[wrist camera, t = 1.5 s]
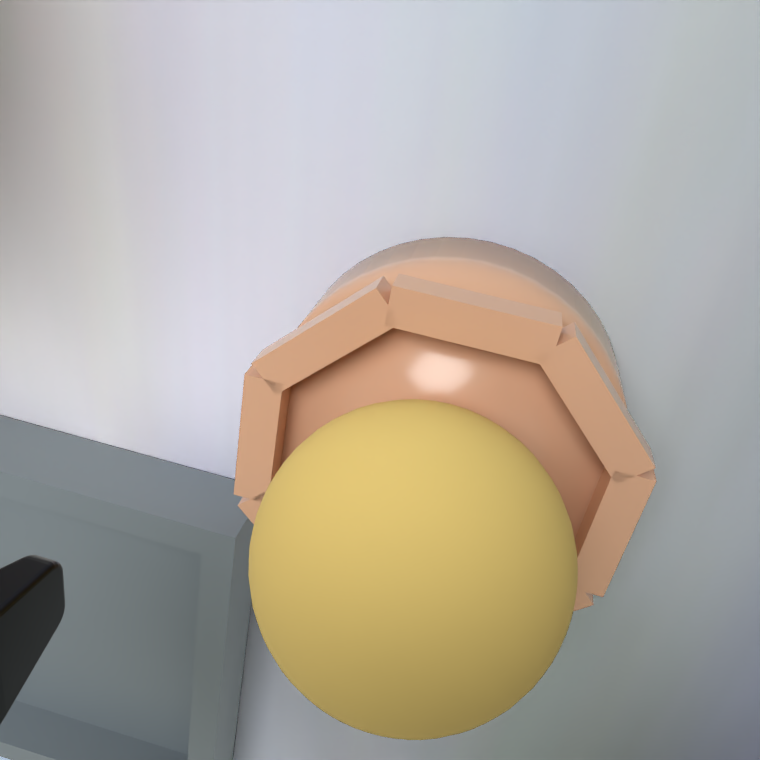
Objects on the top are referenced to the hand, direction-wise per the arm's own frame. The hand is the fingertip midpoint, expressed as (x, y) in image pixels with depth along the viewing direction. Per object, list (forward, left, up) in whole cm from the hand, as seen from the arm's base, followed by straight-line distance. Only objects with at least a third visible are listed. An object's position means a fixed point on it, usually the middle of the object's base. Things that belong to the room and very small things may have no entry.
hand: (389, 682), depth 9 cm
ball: (0, 0, -5) cm, 5 cm away
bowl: (0, 0, -8) cm, 8 cm away
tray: (+10, +10, -8) cm, 16 cm away
